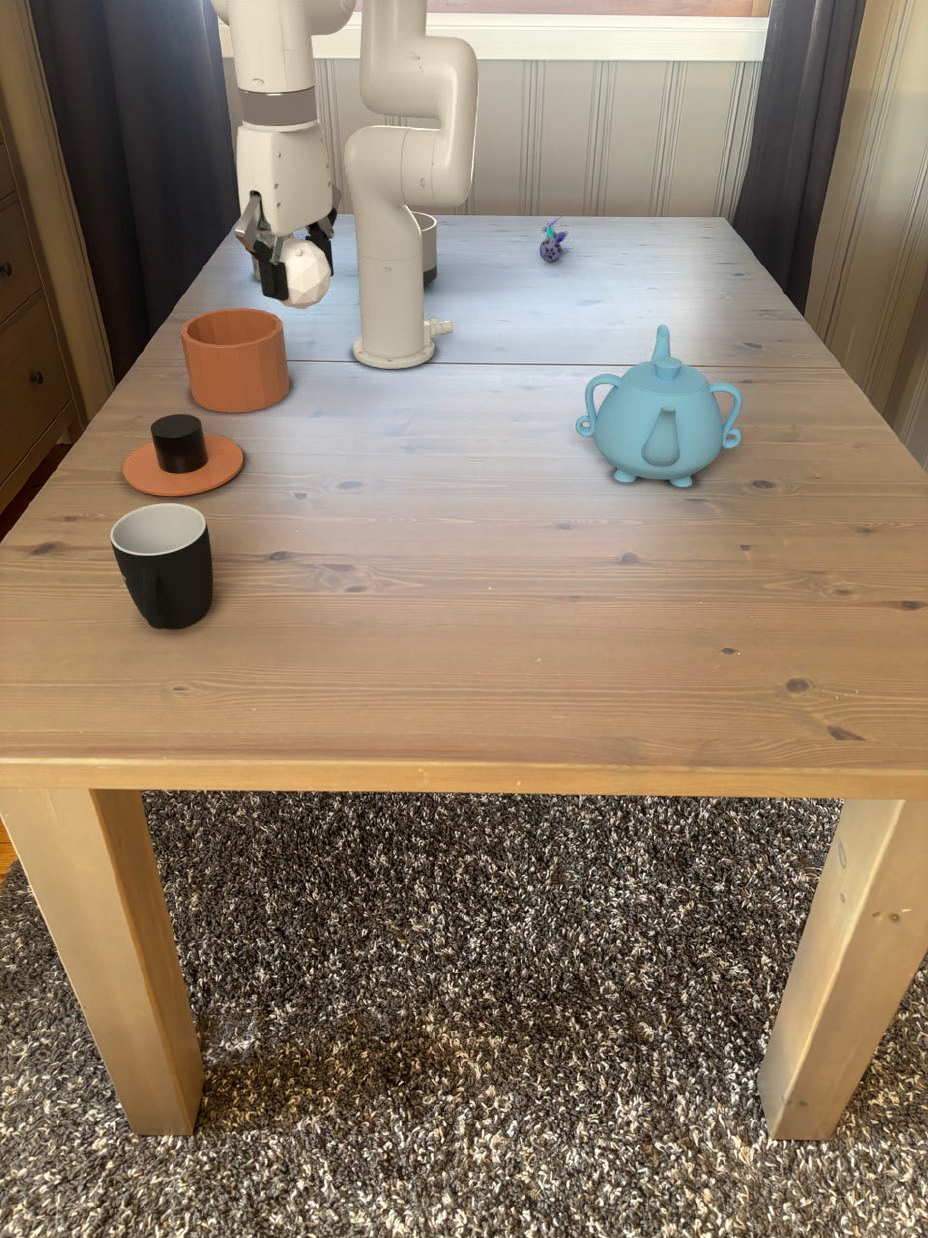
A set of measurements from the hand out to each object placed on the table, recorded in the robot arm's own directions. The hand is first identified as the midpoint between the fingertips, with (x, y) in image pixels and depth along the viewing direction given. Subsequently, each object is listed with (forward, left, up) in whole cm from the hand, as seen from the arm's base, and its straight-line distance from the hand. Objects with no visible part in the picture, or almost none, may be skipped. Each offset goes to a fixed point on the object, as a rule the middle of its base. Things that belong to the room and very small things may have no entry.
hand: (298, 284), depth 103 cm
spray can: (-18, -68, -23) cm, 74 cm away
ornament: (0, 0, -2) cm, 2 cm away
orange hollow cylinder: (+2, -26, -23) cm, 35 cm away
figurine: (-70, -55, -23) cm, 92 cm away
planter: (-37, -55, -23) cm, 70 cm away
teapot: (-38, +18, -23) cm, 49 cm away
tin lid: (+15, -8, -23) cm, 28 cm away
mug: (+24, +21, -23) cm, 40 cm away
